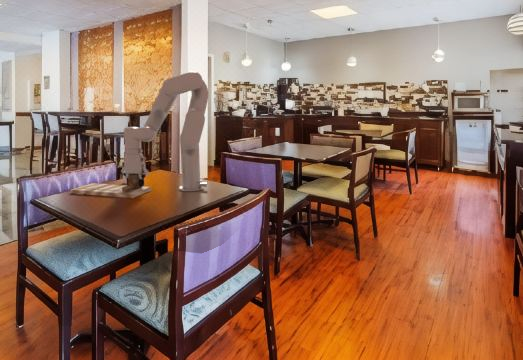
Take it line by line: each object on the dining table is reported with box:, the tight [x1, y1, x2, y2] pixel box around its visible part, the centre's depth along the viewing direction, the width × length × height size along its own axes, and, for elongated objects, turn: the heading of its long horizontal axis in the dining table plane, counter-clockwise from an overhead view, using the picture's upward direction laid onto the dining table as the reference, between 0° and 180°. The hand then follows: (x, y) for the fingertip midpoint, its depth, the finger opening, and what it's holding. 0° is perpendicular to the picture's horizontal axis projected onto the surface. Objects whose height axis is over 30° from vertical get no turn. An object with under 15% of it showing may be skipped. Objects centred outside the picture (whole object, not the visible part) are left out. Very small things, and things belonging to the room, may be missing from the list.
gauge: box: [122, 174, 140, 191], centre depth 192 cm, size 4×13×7 cm, turn 164°
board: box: [70, 182, 152, 199], centre depth 196 cm, size 36×16×2 cm, turn 74°
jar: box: [121, 161, 127, 185], centre depth 217 cm, size 9×8×12 cm
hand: (135, 185), depth 196 cm, fingers open, 6 cm apart
